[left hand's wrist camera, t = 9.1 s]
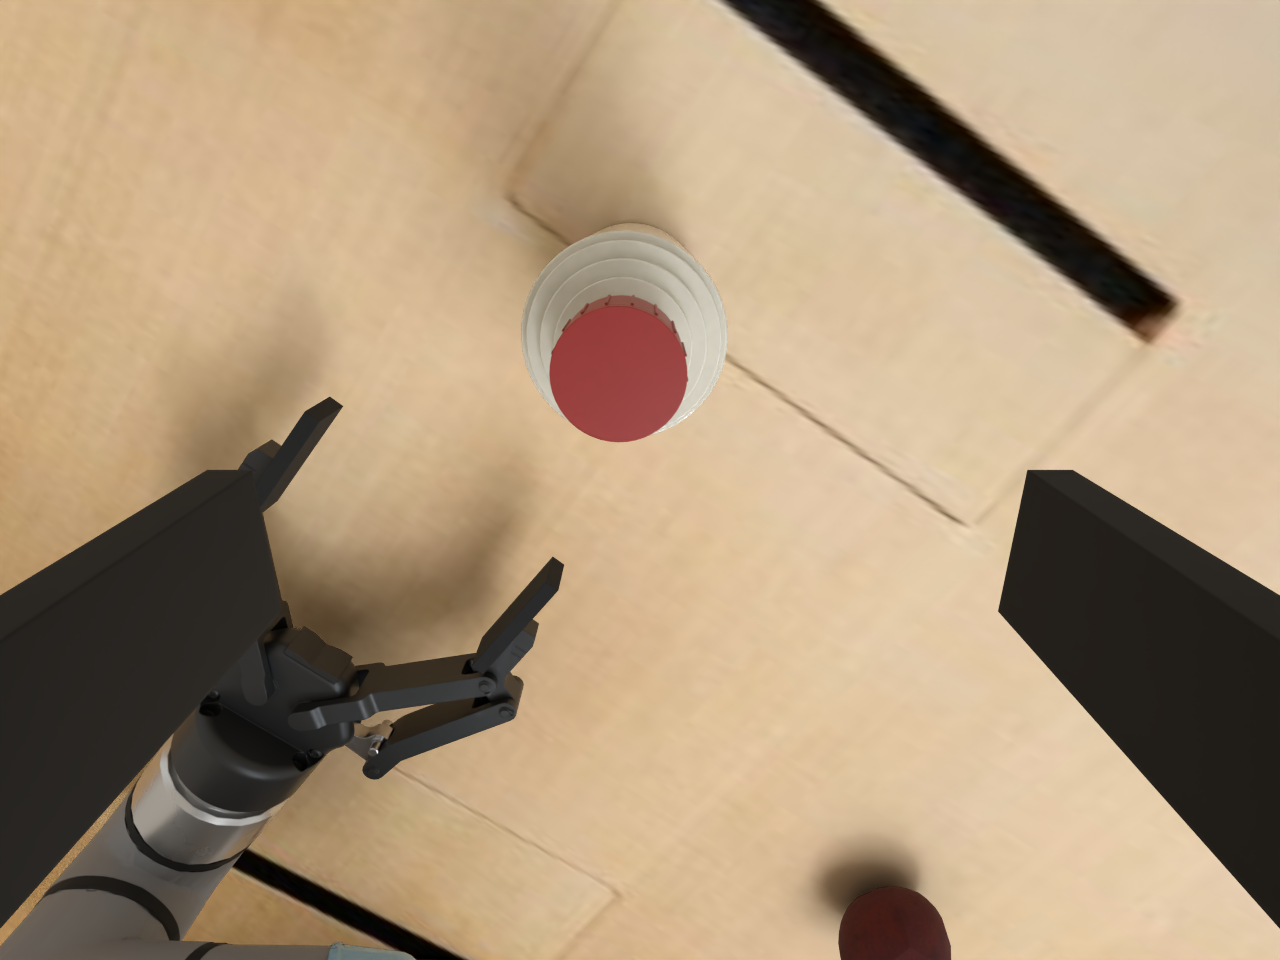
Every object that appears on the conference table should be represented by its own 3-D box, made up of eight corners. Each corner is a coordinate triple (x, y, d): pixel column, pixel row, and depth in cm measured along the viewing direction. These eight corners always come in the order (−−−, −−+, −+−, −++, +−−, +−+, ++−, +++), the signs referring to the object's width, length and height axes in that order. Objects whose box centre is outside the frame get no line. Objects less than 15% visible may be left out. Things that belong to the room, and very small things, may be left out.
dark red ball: (807, 908, 53) (830, 1007, 46) (880, 846, 51) (915, 941, 44) (879, 950, 55) (911, 1052, 48) (953, 892, 52) (997, 990, 46)
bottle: (697, 367, 39) (740, 495, 21) (563, 365, 39) (496, 491, 21) (704, 224, 36) (758, 238, 19) (559, 221, 36) (480, 234, 19)
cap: (682, 421, 23) (686, 445, 20) (559, 418, 23) (549, 443, 20) (687, 295, 21) (692, 305, 19) (555, 292, 21) (544, 303, 19)
